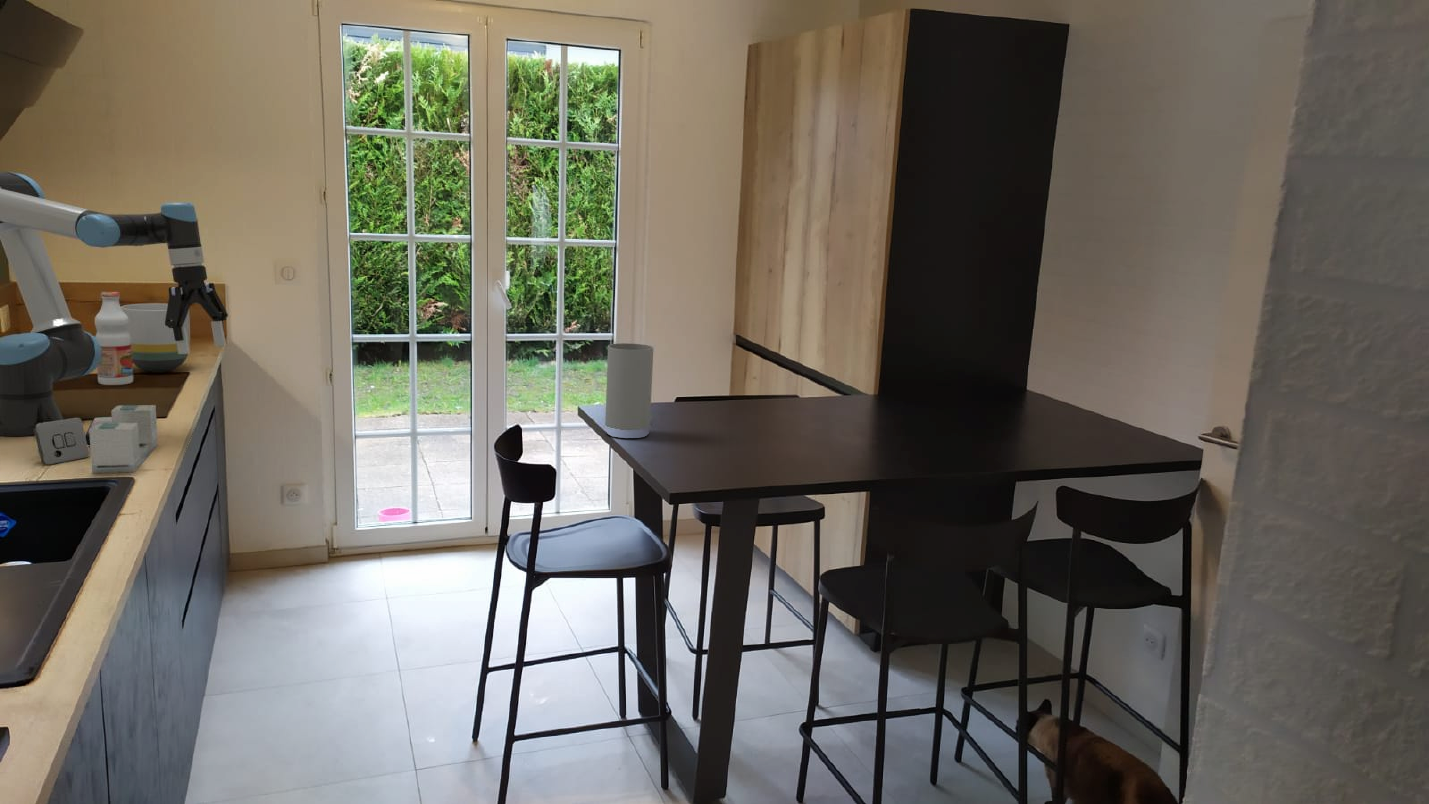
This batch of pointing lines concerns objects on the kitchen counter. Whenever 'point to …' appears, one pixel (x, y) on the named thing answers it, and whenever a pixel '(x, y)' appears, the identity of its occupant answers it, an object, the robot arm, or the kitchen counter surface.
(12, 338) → the robot arm
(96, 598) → the kitchen counter surface
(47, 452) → the electrical switch
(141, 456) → the grey u-shaped block
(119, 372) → the fruit juice
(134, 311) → the planter
